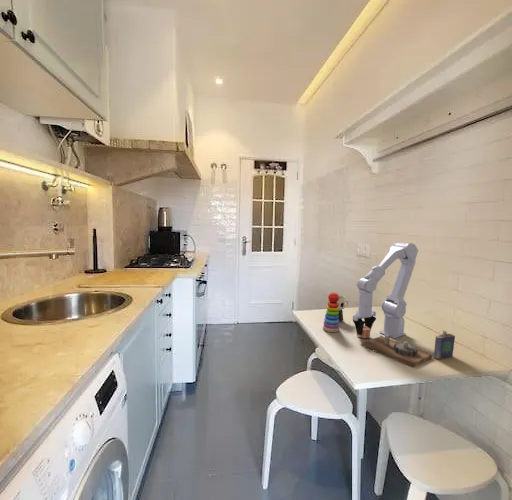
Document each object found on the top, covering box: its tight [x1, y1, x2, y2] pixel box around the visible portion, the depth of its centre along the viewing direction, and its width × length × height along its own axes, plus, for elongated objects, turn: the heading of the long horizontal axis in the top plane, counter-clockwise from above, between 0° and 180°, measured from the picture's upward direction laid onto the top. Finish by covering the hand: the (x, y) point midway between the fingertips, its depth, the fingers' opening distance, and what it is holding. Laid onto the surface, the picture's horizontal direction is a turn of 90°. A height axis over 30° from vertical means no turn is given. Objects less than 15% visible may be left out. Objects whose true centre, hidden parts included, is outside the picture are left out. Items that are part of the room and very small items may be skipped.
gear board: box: [361, 335, 433, 368], centre depth 124 cm, size 14×22×6 cm, turn 35°
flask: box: [433, 330, 456, 360], centre depth 120 cm, size 9×3×11 cm, turn 109°
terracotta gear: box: [356, 325, 371, 339], centre depth 139 cm, size 6×6×4 cm
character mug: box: [327, 294, 349, 322], centre depth 161 cm, size 11×7×13 cm, turn 88°
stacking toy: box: [322, 292, 340, 333], centre depth 147 cm, size 8×8×19 cm
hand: (363, 333), depth 139 cm, fingers closed on terracotta gear, 6 cm apart
